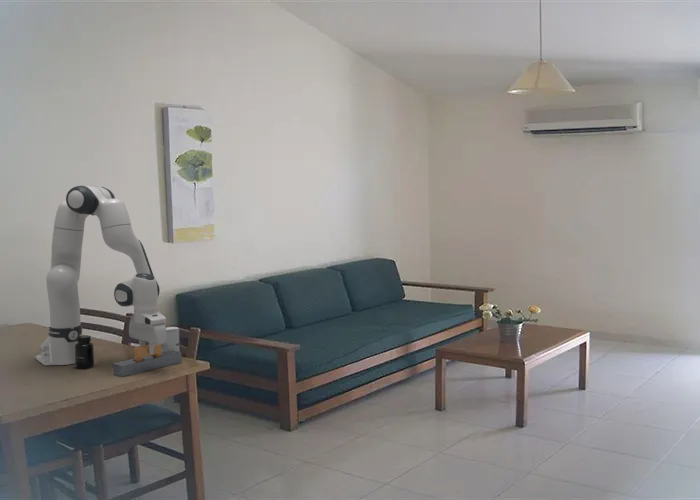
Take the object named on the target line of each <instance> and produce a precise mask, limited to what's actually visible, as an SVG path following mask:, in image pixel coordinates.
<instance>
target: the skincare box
mask: <svg viewBox="0 0 700 500" xmlns="http://www.w3.org/2000/svg"><path fill="white" fill-rule="evenodd" d="M161 348H162V352H167V351H171V350H173V351H177V352H180V328H179V327H177V326H169V327H168V326H167V327H166V342H165V343H164V344H161Z"/></svg>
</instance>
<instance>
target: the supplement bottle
mask: <svg viewBox="0 0 700 500" xmlns="http://www.w3.org/2000/svg"><path fill="white" fill-rule="evenodd" d="M91 341H92V339H91V335H88V334H87V335H86V334H85V335H83V334H82V336H78V337H77V342H78V343H77V344H76V345H75V365H74V366H75V368H76V369H77V370H89V369H92V368H93V367H95V349H94V348H95V347H94V344H93V342H91Z"/></svg>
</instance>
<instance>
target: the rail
mask: <svg viewBox="0 0 700 500" xmlns="http://www.w3.org/2000/svg"><path fill="white" fill-rule="evenodd" d="M182 363H183V361H182V352H180V351H179V352H177V351H173V350H171V351H167V352H162V353H161V356H160V357H154V355H149V356H145V357H143V360H142V361H138V362H137V361H135V358H131V359H126V360H122V361H117V362H113V363H112V374H113V375H115V376H118V377H121V378H122V377H126V376H132V375H135V374H139V373H144V372H148V371H152V370H156V369H161V368H164V367H165V366H166V367H169V365H170V366H173V365H177V364H182ZM166 367H165V368H166Z"/></svg>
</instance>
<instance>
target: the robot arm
mask: <svg viewBox="0 0 700 500" xmlns="http://www.w3.org/2000/svg"><path fill="white" fill-rule="evenodd" d="M88 216H96V217H97V218H98V221H99V224H100V228H101V235H102V239H103V241H104V243H105V244H106V246H107V247H108V248H110V249H111V250H113V251H116V252H119V253H123V254H124V255H126V256H128V257H129V259H131V261H132V263H133V266H134V269H135V272H136V274H135V275H134V276H133V277H132V278H130V279H128V280H126V281H125V280H124V281H122V282H120V283H117V285H116V286H115V287H114V290H113V291H114V292H113V296H114V297H113V298H114V300H115V302H116V304H118V305H119V306H120V307H125V308H127V307H128V308H129V307H133V314H132V315H131V317H130V320H129V322H128V323H129V324H128V325H129V326H128V334H129V338H131V339H135V340H138V343H139V346H143V345H147V344H146V343H148V344H149V345H150V346H149V349H148V353H149V354H153V353H154V348H155V345H160V344H161V345H162V344H164V343H165V342H166V328H167V327H166V323H167V318H166V316H164V315H163V314H162V313H161V312H160V311H159V306H158V297H160V292H161V291H160V286H159V283H158V281H157V279H156V277H155V275H154V273H153V270H152V267H151V265H150V262H149V259H148V256H147V253H146V250H145V248H144V245H143V243H142V242H141V241H140V239H138V238H137V236H136V235H135V233H134V230H133V227H132V223H131V219H130V215H129V213H128V209H127V207H126V205H125V203H124V202H123V200H121V199H118V198H115V194H114V193H113V192H112V191H111V190H110V189H108V188H106V187H104V186H97V185H76V186H73V187H72V188H70V189H69V190H68V191H67V193H66V195H65V200H63V201H61V202H60V203H59V205H58V208H57V210H56V214H55V218H54V224H53V229H52V230H53V232H52V241H51V257H50V269H49V271H47V274H46V278H45V280H46V292H47V298H48V305H49V319H50V320H49V321H50V326H49V327H48V328H49V329H48V336H47V338H46V339H45V340H44V341H43V342H41V345H40V346H39V351H40V354H39V353H38V354H37V355H35V357H34V359H36V360H37V361H38V362H39V363H41V364H42V365H43V366H64V365H65V366H66V365H67V366H68V365H72V364H75V345H76V344H77V343H78V342H77V337H78V336H82V335H83V325H82V323H81V307H80V306H81V304H80V296H79V287H78V284H79V283H78V282H79V281H80V277H81V276H80V275H81V274H80V273H81V264H82V251H83V249H82V248H83V243H84V242H83V241H84V232H85V223H86V219H87V218H88Z"/></svg>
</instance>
